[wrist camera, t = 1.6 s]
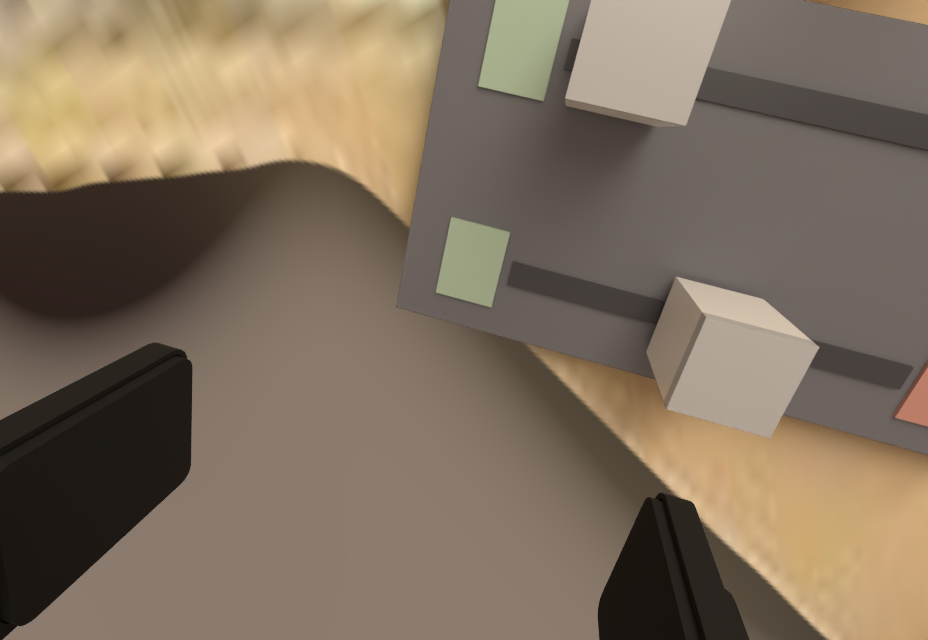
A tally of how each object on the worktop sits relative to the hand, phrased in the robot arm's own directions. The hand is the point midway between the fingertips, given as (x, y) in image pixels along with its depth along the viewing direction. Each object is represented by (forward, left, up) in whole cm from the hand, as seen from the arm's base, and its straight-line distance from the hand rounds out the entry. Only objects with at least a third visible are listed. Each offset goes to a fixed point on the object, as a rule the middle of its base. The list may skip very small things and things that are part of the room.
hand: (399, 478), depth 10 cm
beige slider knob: (-10, 0, -16) cm, 19 cm away
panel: (-10, -5, -19) cm, 22 cm away
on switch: (-3, -10, -16) cm, 19 cm away
